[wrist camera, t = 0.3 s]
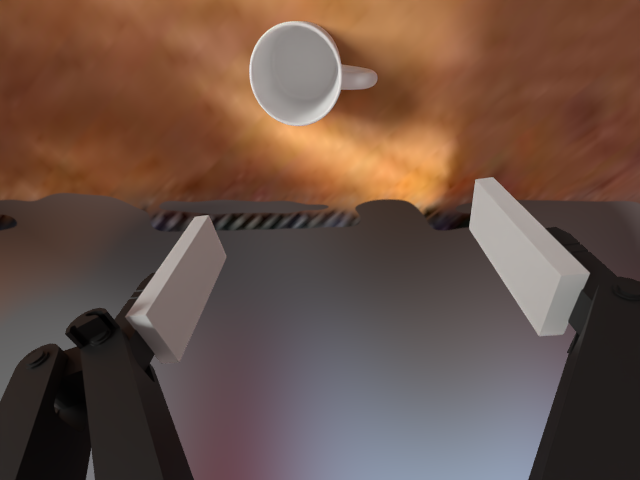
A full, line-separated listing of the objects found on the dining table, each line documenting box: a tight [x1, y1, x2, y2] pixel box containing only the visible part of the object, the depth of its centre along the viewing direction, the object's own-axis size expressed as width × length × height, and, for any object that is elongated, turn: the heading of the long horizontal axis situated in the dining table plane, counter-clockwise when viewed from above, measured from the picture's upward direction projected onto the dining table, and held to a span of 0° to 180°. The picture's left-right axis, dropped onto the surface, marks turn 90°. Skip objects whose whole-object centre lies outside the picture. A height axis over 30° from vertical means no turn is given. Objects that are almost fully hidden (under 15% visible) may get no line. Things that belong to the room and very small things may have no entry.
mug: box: [249, 21, 378, 126], centre depth 32 cm, size 12×8×10 cm
